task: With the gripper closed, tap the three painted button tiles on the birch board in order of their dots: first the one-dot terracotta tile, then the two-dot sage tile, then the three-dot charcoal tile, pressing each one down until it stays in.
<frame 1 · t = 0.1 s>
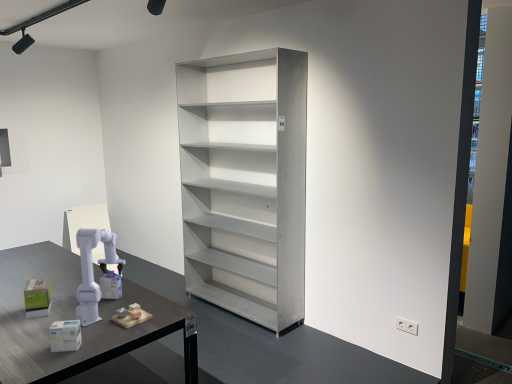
hand: (113, 275, 230), 11 cm above the table, tool pointing down, fingers open, 7 cm apart
tile two: (134, 307, 206), point 4 cm above the table, slide at 0.0 cm
tea box: (39, 311, 210), on the table
button board: (132, 318, 203), on the table
tile one: (135, 313, 200), point 4 cm above the table, slide at 0.0 cm
tile three: (121, 312, 201), point 4 cm above the table, slide at 0.0 cm
light bulb box: (66, 348, 176), on the table
ink cartridge box: (111, 297, 228), on the table, touching gripper
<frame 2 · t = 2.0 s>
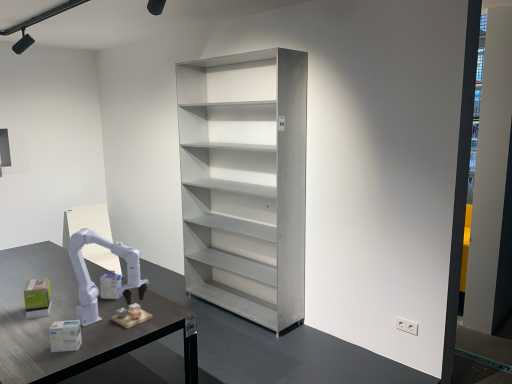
hand: (134, 302, 199), 9 cm above the table, tool pointing down, fingers open, 6 cm apart
ink cartridge box: (111, 297, 228), on the table
everything else where it was.
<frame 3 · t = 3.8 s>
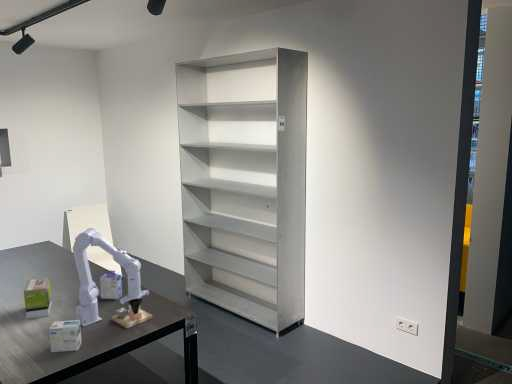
hand: (135, 313, 200), 4 cm above the table, tool pointing down, fingers closed, pressing on tile one
tile one: (135, 315, 200), point 3 cm above the table, slide at 0.8 cm, touching button board, gripper
everything else where it was.
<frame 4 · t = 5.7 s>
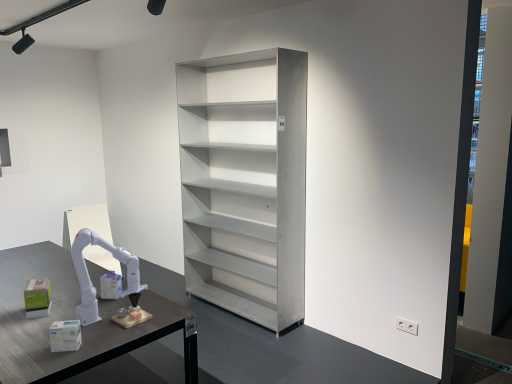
hand: (134, 306, 206), 4 cm above the table, tool pointing down, fingers closed, pressing on tile two
tile two: (134, 309, 207), point 3 cm above the table, slide at 0.8 cm, touching gripper
tile one: (135, 315, 200), point 3 cm above the table, slide at 0.8 cm, touching button board
everything else where it was.
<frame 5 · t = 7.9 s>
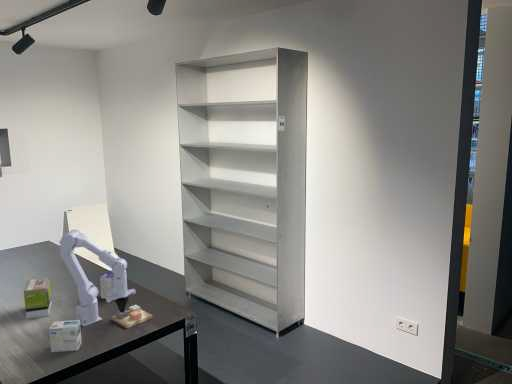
hand: (122, 311, 201), 4 cm above the table, tool pointing down, fingers closed, pressing on tile three
tile two: (134, 309, 207), point 3 cm above the table, slide at 0.8 cm, touching button board
tile three: (121, 314, 201), point 3 cm above the table, slide at 0.8 cm, touching button board, gripper
everything else where it was.
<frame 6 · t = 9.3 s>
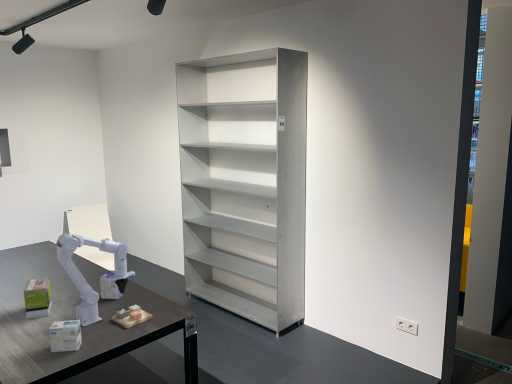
hand: (121, 292, 210), 9 cm above the table, tool pointing down, fingers closed
tile three: (121, 313, 201), point 3 cm above the table, slide at 0.8 cm
everything else where it was.
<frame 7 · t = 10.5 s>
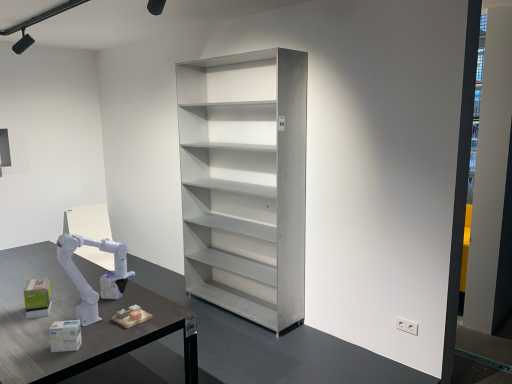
hand: (121, 292, 210), 9 cm above the table, tool pointing down, fingers closed
nothing on the table moved.
at the end: tile one slide at 0.8 cm; tile two slide at 0.8 cm; tile three slide at 0.8 cm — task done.
